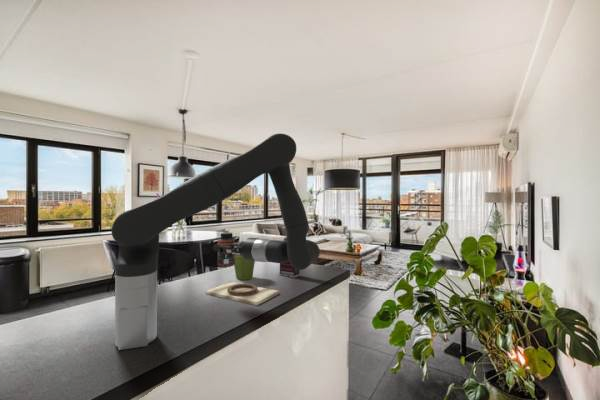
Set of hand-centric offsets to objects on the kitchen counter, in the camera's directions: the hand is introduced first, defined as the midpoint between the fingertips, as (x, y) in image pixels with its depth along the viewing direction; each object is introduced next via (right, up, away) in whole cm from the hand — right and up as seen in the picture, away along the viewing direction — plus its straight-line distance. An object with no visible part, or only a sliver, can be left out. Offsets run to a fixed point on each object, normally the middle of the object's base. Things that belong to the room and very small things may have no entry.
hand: (221, 246), depth 102 cm
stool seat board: (+6, -19, +7) cm, 21 cm away
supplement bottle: (+2, -7, -1) cm, 7 cm away
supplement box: (+23, -19, +34) cm, 45 cm away
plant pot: (+3, -19, +28) cm, 34 cm away
